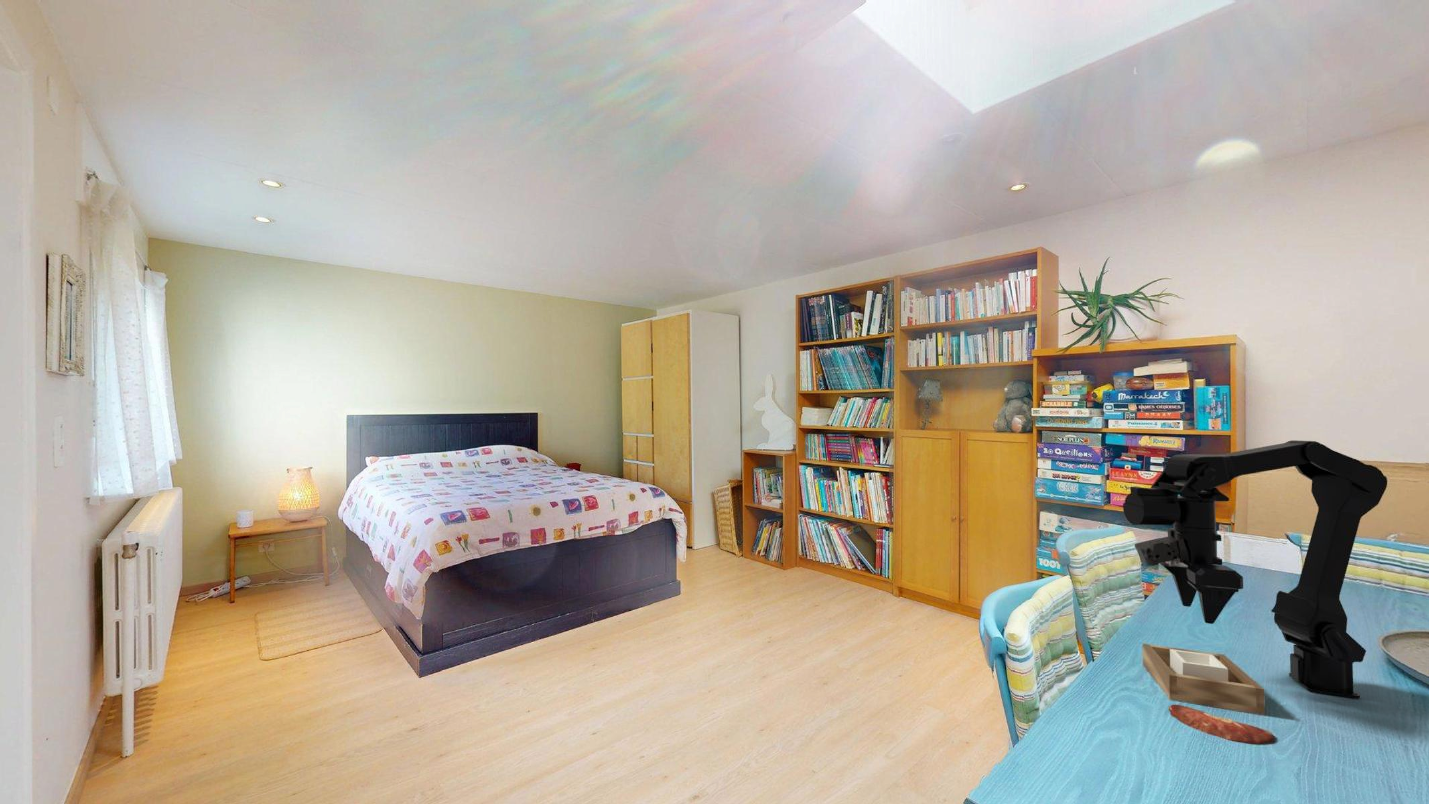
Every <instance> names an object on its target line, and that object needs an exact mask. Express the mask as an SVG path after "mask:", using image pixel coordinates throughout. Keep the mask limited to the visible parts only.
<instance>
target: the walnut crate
mask: <svg viewBox="0 0 1429 804" xmlns="http://www.w3.org/2000/svg"><path fill="white" fill-rule="evenodd" d="M1170 649H1173V650H1181V651H1188V652H1195V653H1203V654H1210V655H1213V656H1214V657H1215V658H1216V659H1218V660H1219V661H1220V662H1221V663H1222V664H1223V665H1224V666H1225V667H1226V668H1227V669H1228V682H1227V681H1221V680H1214V679H1207V678H1201V677H1194V676H1187V675H1181V674H1174V672H1173V671H1172V670H1171V669H1170ZM1142 665H1143V667H1144V669H1146V671H1147V673H1149V675H1150V676H1151V678H1152V679H1153V678H1154V679H1153V680H1154V681H1155V682H1156V684H1157V683H1158V684H1157V685H1158V686H1159V688H1160V687H1161V688H1160V689H1161V690H1162V692H1163V691H1164V692H1165V693H1166V694H1165V693H1164V692H1163V693H1164V694H1165V695H1166V697H1167V698H1168V699H1169V700H1171V701H1174V702H1175V701H1176V702H1183V703H1188V704H1195V705H1200V706H1207V707H1212V708H1213V707H1214V708H1218V709H1225V710H1231V711H1237V712H1243V713H1247V714H1255V715H1262V716H1266V705H1265V703H1266V702H1265V700H1266V698H1265V696H1266V694H1265V689H1264V688H1263V687H1262V686H1261V685H1260V684H1259V682H1257V681H1256V680H1254V679H1253V678H1252V677H1251V676H1249V674H1247V673H1246V672H1245V671H1244V670H1242V669H1241V668H1240V667H1239V666H1238V665H1237V664H1236V663H1234V662H1233V661H1232V660H1231V659H1230V658H1229V657H1228V656H1226V655H1225V654H1222V653H1215V652H1207V651H1206V652H1205V651H1200V650H1193V649H1186V648H1185V649H1183V648H1179V647H1178V648H1177V647H1169V646H1163V645H1156V644H1149V643H1148V644H1147V643H1142Z"/></svg>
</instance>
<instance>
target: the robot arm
mask: <svg viewBox="0 0 1429 804" xmlns="http://www.w3.org/2000/svg"><path fill="white" fill-rule="evenodd" d="M1293 467H1294V468H1295V469H1296V470H1297V471H1298V473H1299V474H1301V475H1302V476H1304V477H1306V478H1307V479H1309V480H1310V481H1311V488H1310V489H1311V490H1310V491H1311V494H1312V497H1313V498H1314V501H1315V503H1316V506H1317V508H1318V509H1317V514H1316V518H1315V522H1314V525H1313V528H1312V532H1311V536H1310V540H1309V544H1308V547H1307V551H1306V555H1305V559H1304V561H1303V565H1302V569H1301V573H1300V576H1299V579H1298V583H1297V585H1296V587H1295V588H1292V589H1291V590H1290V591H1289V592H1285V591H1282V590H1279V591H1278V592H1277V593H1276V597H1275V604H1274V606H1273V607H1272V609H1271V612H1272V613H1274V616H1273V620H1274V624H1276V626H1277V627H1278V629H1279V630H1280V631H1281V633H1282V636H1283V638H1284V641H1285V642H1288V643H1291V644H1293V645H1292V648H1293V653H1290V654H1289V665H1290V669H1289V670H1290V672H1289V673H1288V676H1289V677H1290V678H1292V680H1294V681H1295V682H1296V683H1298V684H1299V685H1300V686H1301V687H1303V688H1304V689H1306V690H1307V691H1309V692H1312V693H1320V694H1321V693H1322V694H1326V695H1333V696H1340V697H1345V698H1346V697H1348V698H1353V699H1361V694H1359V693H1357V692H1356V691H1354V668H1353V667H1354V666H1353V665H1354V663H1362V662H1363V661H1364V659H1365V655H1366V654H1367V653H1366V652H1367V650H1366V649H1365V647H1363V646H1362V645H1361V644H1360V643H1359V642H1358V641H1356V639H1354V637H1352V636H1351V635H1350V634H1349V633H1347V627H1348V616H1347V614H1346V612H1345V610H1344V609H1345V608H1344V606H1343V604H1342V603H1341V600H1340V597H1341V596H1340V595H1341V592H1342V589H1343V586H1344V580H1345V578H1346V573H1347V570H1348V567H1349V566H1348V565H1349V562H1350V559H1351V554H1352V552H1353V549H1354V544H1355V540H1356V538H1357V537H1356V536H1357V534H1358V529H1359V526H1360V521H1361V519H1362V517H1364V515H1367V513H1368V512H1370V511H1371V510H1373V509H1374V508H1376V507H1377V506H1378V505H1379V504H1380V502H1381V499H1382V498H1383V496H1384V494H1385V492H1386V490H1387V488H1388V477H1387V476H1386V475H1384V473H1383V472H1382V471H1381V470H1380V469H1379V468H1378V467H1377V466H1374V465H1373V464H1366V463H1364V462H1362V461H1361V460H1359V459H1357V458H1353V457H1352V456H1350V455H1349V456H1348V455H1346V454H1343V453H1341V452H1338V451H1336V450H1333V449H1332V448H1329V446H1326V445H1324V444H1323V443H1320V442H1319V441H1315V440H1314V441H1313V440H1294V439H1293V440H1289V441H1286V442H1283V443H1279V444H1278V443H1277V444H1272V445H1267V446H1261V447H1256V448H1255V447H1254V448H1250V449H1244V450H1239V451H1233V452H1228V453H1227V452H1226V453H1222V454H1221V453H1220V454H1207V453H1206V454H1201V453H1200V454H1197V453H1194V454H1193V453H1189V454H1187V453H1186V454H1175V455H1172V456H1170V457H1169V459H1168V460H1167V462H1166V464H1165V468H1163V471H1162V472H1161V473H1160V475H1158V477H1157V478H1156V479H1155V480H1154V482H1153V483H1152V485H1151V486H1150V487H1141V486H1131V487H1130V493H1128V494H1127V495H1126V497H1125V499H1124V502H1123V503H1122V508H1123V509H1122V510H1123V514H1124V516H1125V518H1126V521H1128V522H1129V524H1131V525H1133V526H1172V525H1173V527H1169V529H1168V530H1167V536H1164V537H1157V538H1154V539H1150V540H1145V541H1144V540H1143V541H1141V542H1137V543H1135V544H1134V547H1135V549H1136V552H1137V554H1138V557H1139V559H1140V560H1141V562H1142V563H1144V564H1145V565H1146V566H1148V567H1152V566H1157V565H1160V566H1162V568H1164V569H1165V570H1166V571H1168V572H1169V573H1170V574H1171V576H1172V579H1173V581H1174V585H1175V587H1176V591H1177V593H1178V595H1179V599H1180V601H1181V605H1182V606H1184V607H1189V608H1190V607H1191V606H1192V605H1193V602H1194V600H1195V596H1196V594H1198V598H1199V603H1200V608H1201V614H1202V617H1203V621H1204V623H1206V624H1208V625H1209V624H1211V625H1213V624H1215V623H1216V620H1217V619H1218V617H1219V616H1220V615H1221V613H1222V611H1223V610H1224V608H1225V607H1226V605H1227V604H1228V603H1229V602H1230V600H1231V599H1232V598H1233V596H1234V595H1235V593H1239V590H1244V577H1243V576H1242V575H1241V574H1240V572H1238V571H1237V570H1235V569H1233V568H1231V567H1228V566H1227V565H1223V559H1222V558H1221V557H1218V551H1217V546H1218V545H1217V542H1222V535H1221V534H1219V533H1217V520H1216V502H1229V501H1230V498H1229V497H1228V496H1227V495H1225V494H1224V493H1223V492H1221V491H1220V490H1219V489H1218V487H1221V486H1224V485H1225V484H1228V483H1230V482H1231V481H1233V480H1234V479H1235V478H1239V477H1240V476H1245V475H1246V476H1247V475H1252V474H1257V473H1264V472H1270V471H1275V470H1280V469H1287V468H1293Z"/></svg>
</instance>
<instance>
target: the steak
mask: <svg viewBox="0 0 1429 804" xmlns="http://www.w3.org/2000/svg"><path fill="white" fill-rule="evenodd" d="M1168 711H1169V714H1170V716H1171V717H1173V718H1175V719H1176V720H1177V721H1179V722H1180V723H1182V724H1184V725H1186V726H1188V727H1190V728H1192V729H1194V730H1197V731H1199V732H1202V733H1204V734H1206V735H1211V736H1215V737H1218V738H1221V739H1224V740H1227V741H1231V742H1236V743H1241V744H1246V745H1247V744H1249V745H1257V746H1258V745H1259V746H1260V745H1272V744H1274V743H1275V742H1276V739H1275V738H1276V736H1275V735H1274V734H1273V733H1272V732H1271V731H1268V730H1266V729H1263V728H1260V727H1258V726H1255V725H1250V724H1246V723H1243V722H1238V721H1235V720H1233V719H1232V718H1225V717H1219V716H1216V715H1213V714H1210V713H1207V712H1204V711H1202V710H1198V709H1195V708H1192V707H1188V706H1184V705H1181V704H1171V705H1169V706H1168Z"/></svg>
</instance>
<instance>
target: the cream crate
mask: <svg viewBox="0 0 1429 804" xmlns="http://www.w3.org/2000/svg"><path fill="white" fill-rule="evenodd" d="M1170 669H1171V670H1172V671H1173V672H1174V674H1181V675H1187V676H1194V677H1201V678H1207V679H1214V680H1221V681H1227V682H1228V669H1227V668H1226V667H1225V666H1224V665H1223V664H1222V663H1221V662H1220V661H1219V660H1218V659H1216V658H1215V657H1214V656H1213V655H1210V654H1203V653H1195V652H1188V651H1181V650H1173V649H1170Z"/></svg>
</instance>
